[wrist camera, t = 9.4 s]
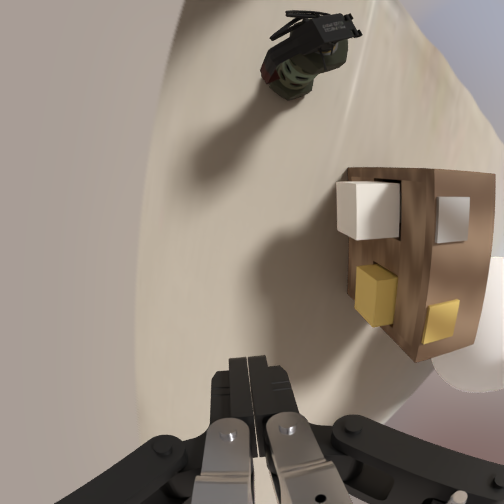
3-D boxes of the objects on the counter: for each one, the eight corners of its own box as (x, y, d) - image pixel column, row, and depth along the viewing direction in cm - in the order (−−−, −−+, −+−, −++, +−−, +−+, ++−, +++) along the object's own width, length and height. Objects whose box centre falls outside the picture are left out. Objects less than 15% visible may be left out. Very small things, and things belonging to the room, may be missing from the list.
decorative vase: (446, 365, 43) (536, 455, 19) (377, 332, 39) (490, 460, 15) (500, 273, 40) (612, 331, 16) (443, 218, 36) (601, 271, 12)
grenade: (264, 114, 31) (298, 72, 17) (242, 66, 30) (258, -1, 15) (318, 95, 31) (381, 51, 17) (296, 49, 30) (342, -17, 15)
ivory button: (336, 181, 27) (356, 183, 23) (393, 181, 28) (418, 183, 23) (337, 230, 28) (356, 240, 24) (393, 226, 29) (417, 235, 24)
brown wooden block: (347, 167, 34) (437, 168, 18) (399, 168, 34) (497, 174, 18) (347, 293, 37) (417, 364, 22) (395, 286, 38) (475, 345, 22)
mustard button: (356, 266, 29) (376, 280, 25) (407, 260, 30) (432, 273, 25) (354, 308, 30) (372, 327, 26) (404, 300, 31) (426, 316, 27)
